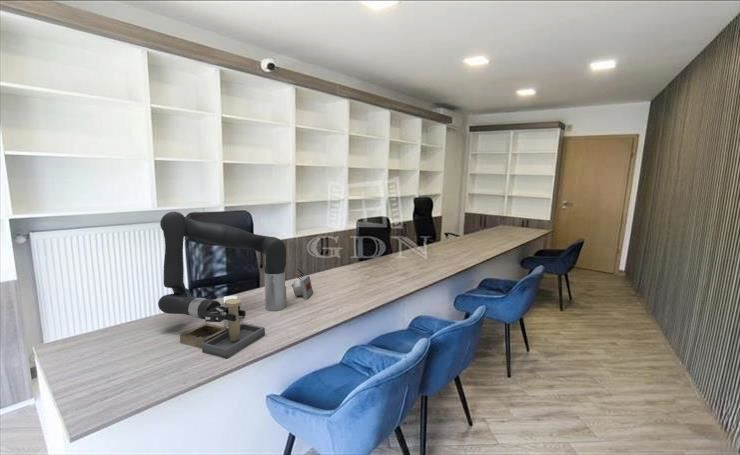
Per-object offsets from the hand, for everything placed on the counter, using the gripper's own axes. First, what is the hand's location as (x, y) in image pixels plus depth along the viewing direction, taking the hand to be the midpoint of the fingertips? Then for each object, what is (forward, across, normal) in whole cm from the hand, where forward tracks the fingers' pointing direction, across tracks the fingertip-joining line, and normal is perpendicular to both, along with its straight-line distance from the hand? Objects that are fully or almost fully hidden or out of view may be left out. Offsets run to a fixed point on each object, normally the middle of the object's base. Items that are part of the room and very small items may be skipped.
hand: (240, 316), depth 129 cm
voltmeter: (-13, +61, +11) cm, 64 cm away
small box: (-18, +14, +11) cm, 25 cm away
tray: (-3, 0, +11) cm, 11 cm away
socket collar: (-15, -2, +11) cm, 19 cm away
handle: (-3, 0, +10) cm, 10 cm away
